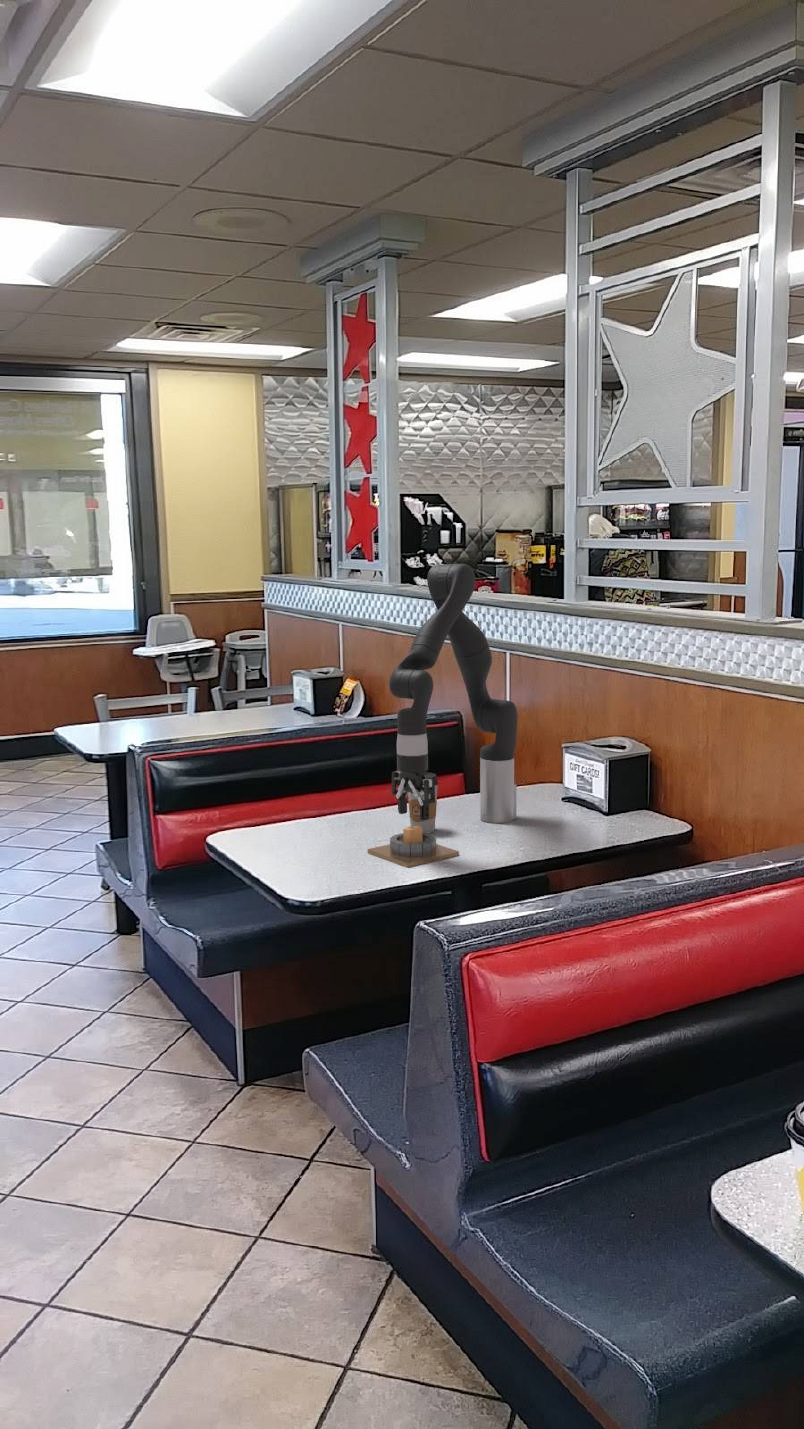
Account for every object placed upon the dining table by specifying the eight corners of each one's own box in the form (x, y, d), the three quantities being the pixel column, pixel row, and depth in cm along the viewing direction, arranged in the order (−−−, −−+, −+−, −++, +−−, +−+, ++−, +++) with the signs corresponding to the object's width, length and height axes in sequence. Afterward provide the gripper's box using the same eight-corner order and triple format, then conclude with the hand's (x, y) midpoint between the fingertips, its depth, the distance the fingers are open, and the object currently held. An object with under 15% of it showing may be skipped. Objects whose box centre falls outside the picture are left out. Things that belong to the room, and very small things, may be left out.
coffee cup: (401, 832, 295) (401, 776, 292) (416, 825, 302) (415, 770, 300) (429, 835, 291) (429, 779, 289) (443, 828, 298) (443, 773, 296)
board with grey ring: (418, 841, 285) (418, 826, 285) (459, 855, 273) (459, 839, 272) (367, 853, 276) (367, 837, 275) (407, 867, 263) (407, 851, 263)
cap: (414, 845, 279) (414, 823, 278) (431, 850, 274) (431, 828, 273) (394, 849, 275) (394, 827, 274) (410, 855, 270) (410, 832, 269)
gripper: (443, 753, 267) (443, 819, 270) (406, 745, 278) (407, 808, 281) (418, 758, 262) (419, 825, 265) (382, 749, 274) (383, 813, 276)
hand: (413, 816), depth 273 cm, fingers open, 8 cm apart
